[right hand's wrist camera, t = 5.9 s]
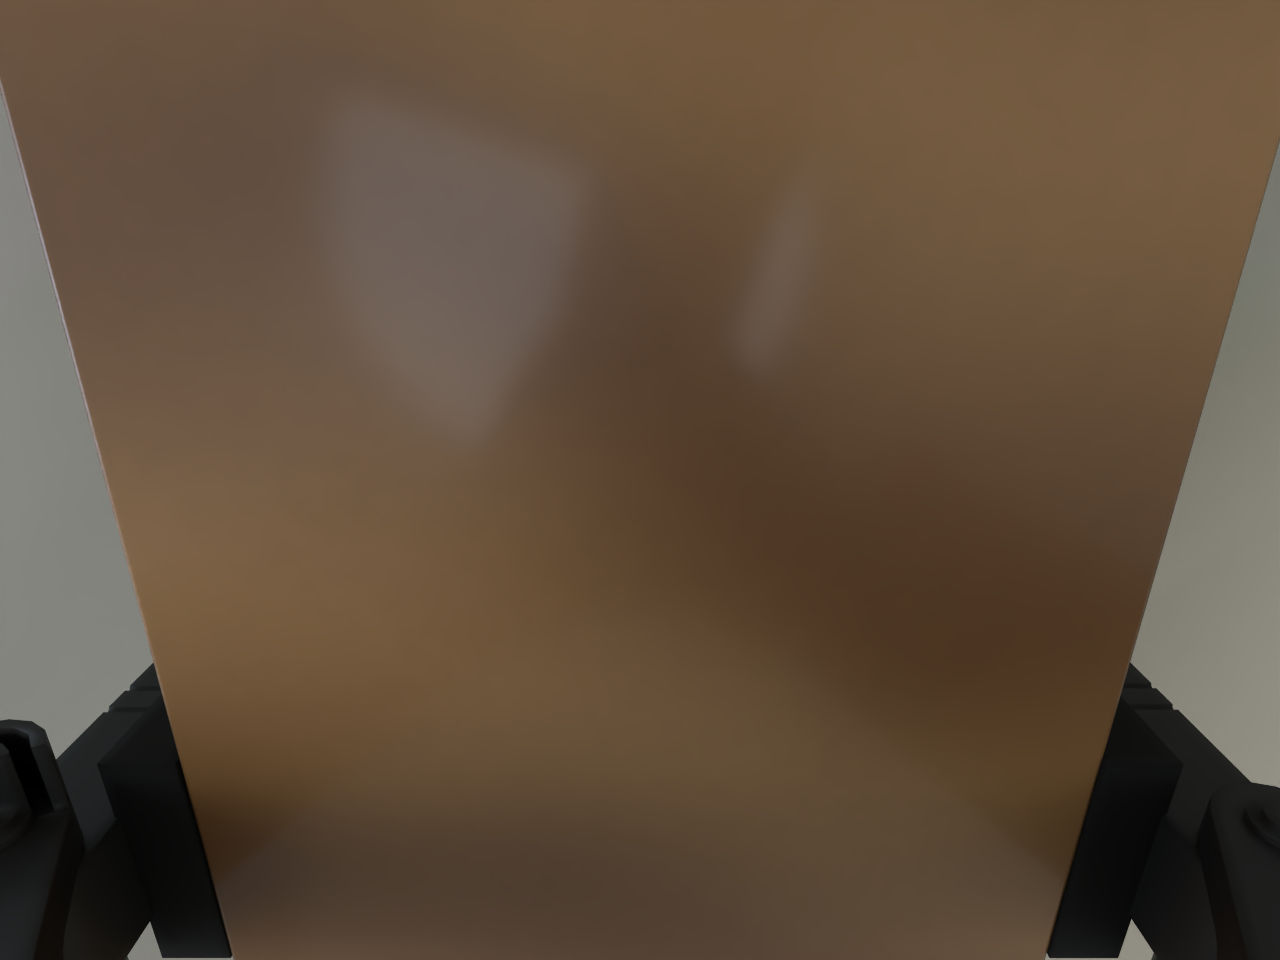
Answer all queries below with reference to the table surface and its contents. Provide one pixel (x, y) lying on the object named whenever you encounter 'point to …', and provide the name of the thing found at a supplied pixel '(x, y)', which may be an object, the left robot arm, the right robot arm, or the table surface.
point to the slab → (642, 441)
